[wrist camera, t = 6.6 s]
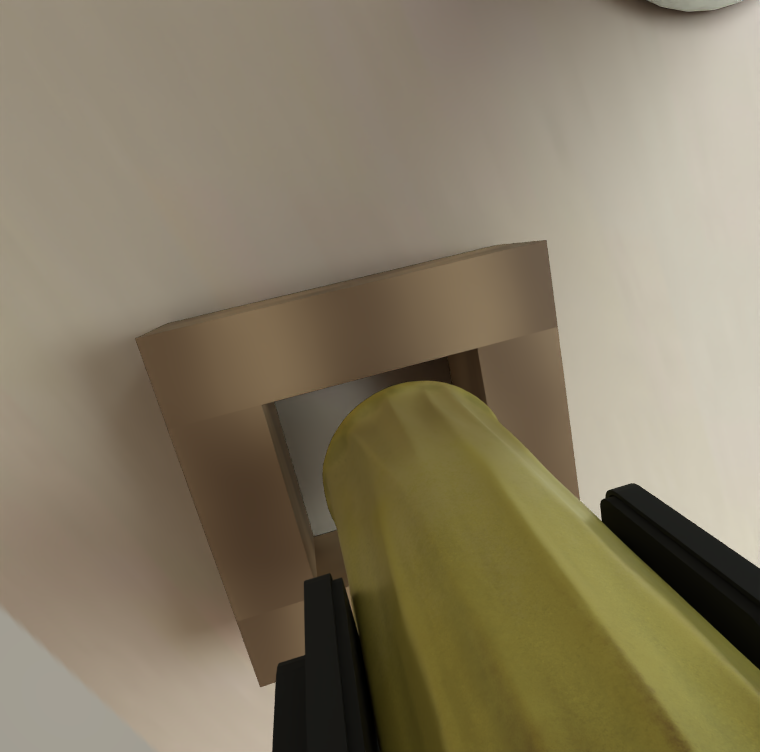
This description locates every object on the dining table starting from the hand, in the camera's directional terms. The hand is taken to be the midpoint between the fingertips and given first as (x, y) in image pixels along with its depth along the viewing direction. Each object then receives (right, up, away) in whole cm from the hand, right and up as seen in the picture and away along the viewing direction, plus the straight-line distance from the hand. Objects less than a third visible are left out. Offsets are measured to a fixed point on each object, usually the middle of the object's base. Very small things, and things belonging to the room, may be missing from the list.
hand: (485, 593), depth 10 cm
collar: (-2, +2, +11) cm, 11 cm away
